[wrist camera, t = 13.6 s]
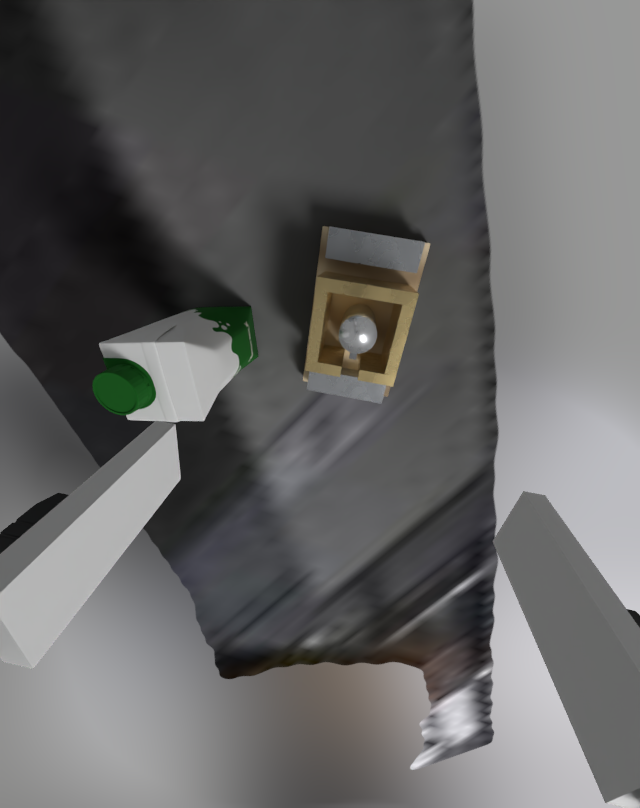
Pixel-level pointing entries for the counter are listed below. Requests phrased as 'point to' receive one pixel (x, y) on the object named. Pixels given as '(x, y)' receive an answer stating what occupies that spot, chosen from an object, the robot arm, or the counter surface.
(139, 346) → the milk carton
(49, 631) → the robot arm
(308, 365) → the gold square frame
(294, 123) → the counter surface
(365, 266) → the bench plate
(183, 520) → the counter surface
